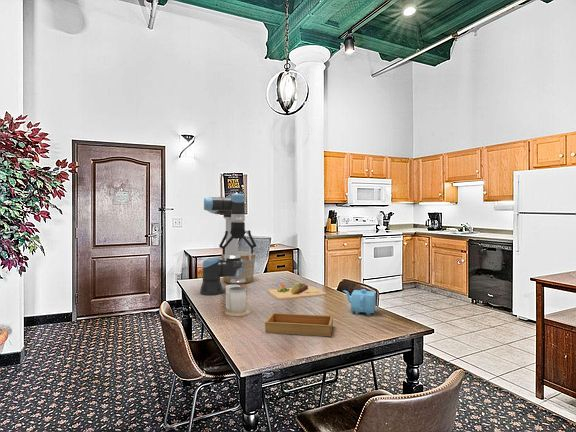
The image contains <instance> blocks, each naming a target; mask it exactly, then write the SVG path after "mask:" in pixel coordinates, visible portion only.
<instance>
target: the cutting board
mask: <svg viewBox="0 0 576 432" xmlns="http://www.w3.org/2000/svg"><path fill="white" fill-rule="evenodd" d="M293 285H294V286H293V287H286V286H285V285H284V284H282V283H281V284H280V285H279V287H278V288H273V289H268V290H267V291H266V292H267V294H269V295H271V296H272V297H274V298H275V299H277V300H280V301H281V300H283V301H284V300H293V299H303V298H315V297H323V296H325V297H326V296H327V295H328V294H327V292H326V291H324V290H321V289H319V288H318V287H315V286H311V285H310V286H309V285H307V284H305V283H302V282H299V283H298V284H297V283H294V284H293Z"/></svg>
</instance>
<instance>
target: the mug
mask: <svg viewBox="0 0 576 432" xmlns="http://www.w3.org/2000/svg"><path fill="white" fill-rule="evenodd" d="M232 287H241V284H228V285H225V294H226V293H230V291H229V288H232Z"/></svg>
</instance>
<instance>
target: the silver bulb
mask: <svg viewBox="0 0 576 432" xmlns="http://www.w3.org/2000/svg"><path fill="white" fill-rule="evenodd" d="M234 268H237V279H231V280H230V282H231V283H243V282H245V279H240V278H239V268H242V261H234Z"/></svg>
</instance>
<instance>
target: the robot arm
mask: <svg viewBox="0 0 576 432" xmlns="http://www.w3.org/2000/svg"><path fill="white" fill-rule="evenodd" d="M245 202H246V196H245V194H244V193H232V194H231V196H230V197H219V196H217V197H216V196H215V197H211V196H209V197H206V196H205V197H204V198H203V210H204V211H207V212H208V213H211V214H215V215H222V216H223V218H224V220H225V230H224V231H225V232H224V235H223V237H222V239H221V242H220V244H219V245H218V246H219V248H220V249H222V253H223V255H225V256H224V257H223V260H222V259H221V257H210V258H206V259H204V260H203V261H202V283H201V285H200V289H199V294H200V295H204V296H216V295H221V294H223V293H224V289H223V285H222V282H221V278H223V277H232V276H233V277H235V276H237V268H234V261H242V266H243V260H242V259H241V257H240V256H239V255H238V251H239V240H240V239H243V240H244V241H245V243H246V244H247V245H248V246H249V248H248V252H249V260H251V254H253V253H254V248H256V247H257V244H256V241H255V240H254V238H253V236H252V232H251V230H249V229H248V230H246V229H245V228H246V223H245V221H246V217H245V216H246V214H245V213H246V212H245V210H246V208H245V207H246V206H245V205H246V204H245ZM245 235H248V238H249V239H250V241H251V242H250V241H249V240H248V239H247V238H246V236H245ZM241 272H242V268H239V276H240V275H241Z"/></svg>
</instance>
